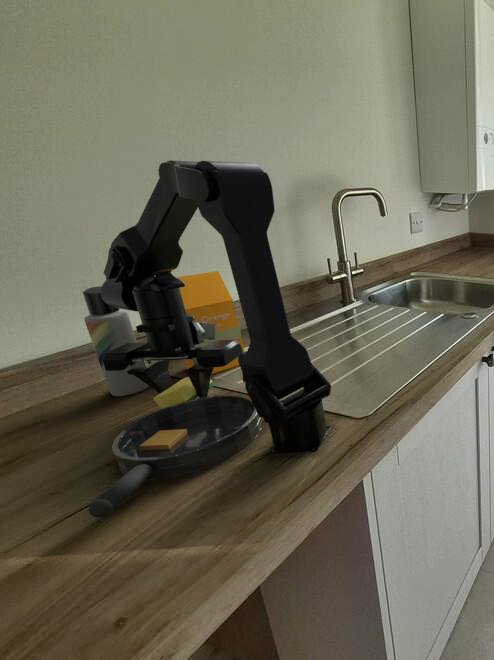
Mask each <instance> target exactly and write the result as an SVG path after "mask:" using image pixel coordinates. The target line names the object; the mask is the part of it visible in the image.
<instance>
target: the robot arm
mask: <svg viewBox="0 0 494 660" xmlns="http://www.w3.org/2000/svg"><path fill="white" fill-rule="evenodd" d="M158 177H159V178H158V180H157V182H156V184H155V186H154V188H153V190H152V193H151V194H150V197H149V199H148V201H147V203H146V205H145V207H144V209H143V211H142V213H141V215H140V217H139V219H138V221H137V223H136V224H135V225H133V226H130V227H128V228H126V229H124V230H122V231H120V232H119V233H118V234H117V235H116V237H115V238H114V239H113V240H112V242H111V243H110V247H109V249H108V255H107V260H106V264H105V268H104V270H103V275H104V276H105V281H104V282H103V283H102V285H101V286H102V287H101V292H100V294H101V297H102V299H103V300H104V301H105V302H106V303H107V304H108V305H110V306H112V307H115V308H119V309H120V310H125V311H132V312H137V313H138V314H139V318H140V321H141V324H138V325H136V326H135V329H136V332H137V333H139V334H140V333H144V335H145V337H146V341H147V342H146V341H145V342H137V343H127V344H125V345H122V346H120V347H118V348H116V349H113V350H111V351H109V352H107V353H105V355H104V357H103V360H102V362H103V364H104V367H105V370H106V371H120V370H125V369H126V368H127V367H128V366H130V370H128V371H127V373H128V374H129V375H134V376H136V377H137V378H139V379H140V380H141V381H143V382H144V383H146V384H147V385H149V388H151V389H152V390H153V391H155V392H156V393H158V395H159V394H161V393H162V392H164V391H165V390H167V389H168V388H170V387H171V386H173V385H174V384H173V382H172V381H173V380H172V379H171V374H170V372H169V366H170V361H180V360H181V361H182V360H184V359H193V361H194V362H193V363H194V365H193V366H192V367H190V368H188V369H187V368H186V369H185V373H186V375H187V377H189V379H190V381H191V383H192V385H193V387H194V389H195V391H196V393H197V395H198V396H199V397H198V398H203V397H209V396H208V395H209V390H210V388H209V385H210V380H211V381H212V379H211V378H212V375H213V374H212V372H213V369H214V367H222V366H226V365H227V364H229V363H230V362H232V361H233V360H234V359H236V358H237V357H238V362H239V365H238V366H239V368H240V370H241V375H242V382H243V383H244V386H245V390H246V392H247V395H248V397H249V398H250V399H251V401H252V403H253V405H254V407H255V409H256V411H257V413H258V415H259V416H260V417H261V419H263V421H264V423H265V424H268V426H269V432H270V436H271V440H272V444H273V445H275V446H274V447H273V448H272V450H271V454H272V455H274V454H275V455H277V454H278V455H279V454H299V453H315V452H317V451H319V449H320V447H321V446H322V444H323V443H324V441H325V439H326V438H327V436H328V434H329V432H330V431H331V429H332V425H327V422H326V416H325V409H324V405H323V399H325V398H327V397H329V396H330V395H331V391H332V384H331V383H330V382H329V380H328V379H327V378H326V377H325V376H324V375H323V374H322V372H321V371H320V370H319V369H318V367H316V365H315V364H314V363H313V362H312V361H311V357H310V355H309V353H308V350H307V347H305V346H304V344H302V343H301V342H300V341H299V340H298V339H296V337H294V336H293V334H292V333H291V329H290V325H289V321H288V317H287V312H286V307H285V303H284V300H283V295H282V290H281V287H280V282H279V279H278V275H277V270H276V266H275V262H274V257H273V252H272V249H271V245H270V241H269V240H270V239H269V235H268V230H269V228H270V225H271V222H272V220H273V217H274V214H275V210H276V209H275V200H274V192H273V190H274V189H273V183H272V180H271V178H270V176H269V174H268V173H267V172H266V171H264V170H263V169H262V168H261V167H260V166H259V165H258V164H256V163H255V162H237V161H216V160H215V161H214V160H201V161H194V160H193V161H191V160H167V161H165V162H161V163H160V164H159V165H158ZM197 210H198V211H199V213H200V215H201V217H202V218H203V219H204V220H205V221H206V222H207V223H208V224H209V225H210V226H211V227H212V228H213V229H214V230H215V231H216V232H217V233H218V234H219V235H220V236H221V238H222V241H223V243H224V247H225V251H226V255H227V258H228V262H229V266H230V270H231V274H232V277H233V280H234V284H235V288H236V292H237V296H238V300H239V303H240V306H241V310H242V311H241V312H242V314H243V319H244V322H245V325H246V329H247V333H248V337H249V341H250V342H249V344H248V345H249V346H248V348H247V351H245V352H244V353H243V351H242V347H241V344H240V343H239V342H238V341H236V340H215V323H201V322H196V321H195V318H194V317H193V315H187V314H186V311H185V307H184V303H183V300H182V296H181V292H180V289H179V288H181V287H185V283H184V282H183V281H182V280H180V279H178V278H176V276H175V275H174V274H173V273H172V271H175V270H176V269H177V268H178V267H179V266H180V262H181V260H182V256H183V254H184V250H183V248H182V246H181V245H180V239H181V237H182V236H183V234H184V232H185V231H186V229H187V227H188V226H189V223H190V222H191V221H192V218H193V217H194V215H195V214H196V212H197ZM203 339H209V340H215V341H213V342H211V343H210V344H208V345H206V346H205V347H199V348H195V345H197V344H201V343H203V342H204V340H203ZM185 353H186V354H185ZM184 361H185V360H184ZM281 399H282V400H281Z"/></svg>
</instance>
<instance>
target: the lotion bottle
mask: <svg viewBox="0 0 494 660" xmlns="http://www.w3.org/2000/svg"><path fill="white" fill-rule="evenodd" d="M101 287H102V285H101V286H100V285H99V286H98V285H97V286H92V287H89V288H86V289H85V290H83V291H82V295H83V298H84V301H85V305H86V308H87V311H88V313H89V314H88V315H86V316H85V317H84V323H85V326H86V329H87V332H88V335H89V337H90V340H91V343H92V346H93V348H94V351H95V354H96V358H97V361H98V362H99V365H100V368H101V371H102V375H103V376H104V380H105V382H106V385H107V388H108V390H109V393H110V394H111V395H112V396H114V397H124V396H130V395H134V394H137V393H141V392H142V391H144V390H146V389H148V388H150V386H149V385H147V384H146V383H144V382H143V381H141V380H140V379H139V378H137V377H136V376H134V375H129V374H128V373H127V371H128V370H130V366H128V367H127V368H126V369H125V370H120V371H106V370H105V367H104V364H103V362H102V360H103V357H104V355H105V353H107V352H109V351H111V350H113V349H116V348H118V347H120V346H122V345H125V344H127V343H138V341H137V337H136V335H135V331H134V328H133V325H132V322H131V319H130V316H129V313H128V310H125V309H120V308H115V307H112V306H110V305H108V304H107V303H106V302H105V301H104V300H103V299H102V297H101V294H100V292H101Z"/></svg>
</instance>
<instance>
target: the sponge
mask: <svg viewBox="0 0 494 660" xmlns="http://www.w3.org/2000/svg"><path fill="white" fill-rule="evenodd" d="M172 385H173V386H171V387H170V388H168V389H167V390H165V391H164V392H162V393H161V394H159V393H158V394H157V395H156V396H154V397H153V398H152V399H153V400H154V402H155V403H156V405H157V406H158V407H159V408H160V410H162V409H164V408H167V407H169V406H173V405H176V404H179V403H182V402H185V401H189V400H194V399H198V398H199V396H198V395H197V393H196V391H195V389H194V387H193V385H192V383H191V381H190V379H189V377H188V376H187V377H184V378H182V379H180V380H179V381H177V382H176V383H174V384H172ZM214 385H215V383H214V381H213V380H212V379H211V380H210V385H209V389H211V388H212V387H213V386H214Z"/></svg>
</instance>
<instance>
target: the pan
mask: <svg viewBox="0 0 494 660" xmlns="http://www.w3.org/2000/svg"><path fill="white" fill-rule="evenodd" d="M262 420H263V419H262V417H260V416H259V415H258V413H257V411H256V409H255V407H254V405H253V403H252V401H251V399H250V397H249V396H246V395H239V394H217V395H216V394H215V395H210V396H207V397H203V398H199V397H197V398H196V399H194V400H189V401H185V402H182V403H179V404H176V405H173V406H169V407H167V408H164V409H162V410H161V409H159V410H157V411H154V412H152V413H149V414H148V415H146V416H144V417H142V418H140V419H139V420H136V421H135V422H133V423H132V424H130V425H129V426H128V427H126V428H124V429H123V430H122V431H121V432H120V433H119V434H118V435H117V436H116V437H115V439H114V440H113V442H112V445H111V449H112V452H113V455H114V458H115V461H116V463H117V466H118V468H119V471H120V473H122V474H123V476H124V475H126V474H127V473H128V472H129V471H131V470H132V469H133V468H134V467H136V466H138V465H141V464H147V465H149V466H151V467H152V469H153V474H152V476H151V477H150V478H149V479H148V480H150V481H152V480H164V479H169V478H175V477H180V476H184V475H187V474H191V473H194V472H198V471H200V470H203V469H206V468H209V467H211V466H213V465H215V464H218V463H221V462H222V461H225V460H227V459H228V458H230V457H232V456H234V455H236V454H237V453H239V452H240V451H242V450H243V449H245V448H246V447H247V446H249V445H250V444H251V443H252V442H253V441H254V440H255V439H256V438H257V437H258V435H259V434H260V432H261V430H262V428H263V421H262ZM180 429H187V432H188V434H187V435H185V436H184V437H183V438H182V439H181V440H179V441H178V442H177V443H176V444H175V445H174V446H172V447H171V448H170V449H161V450H140V447H139V446H140V445H141V444H142V443H144V442H145V441H146V440H148V439H149V438H150V437H152V436H153V435H154V434H155V433H157V432H158V431H159V430H180ZM148 480H147V481H148Z"/></svg>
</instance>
